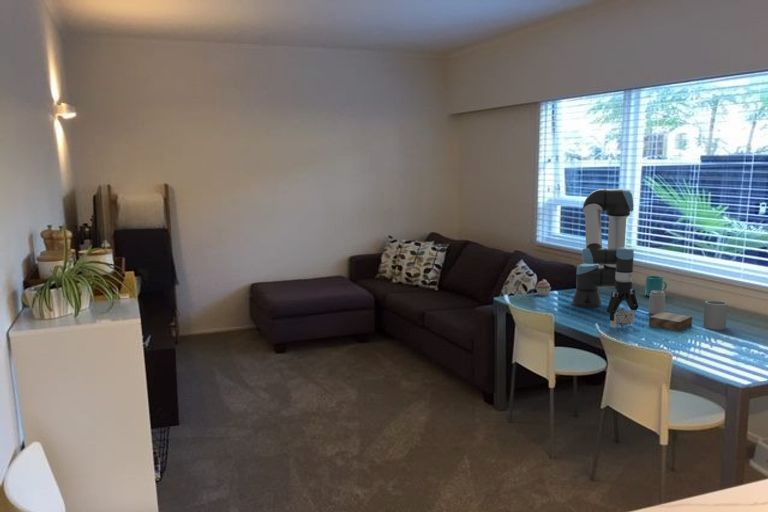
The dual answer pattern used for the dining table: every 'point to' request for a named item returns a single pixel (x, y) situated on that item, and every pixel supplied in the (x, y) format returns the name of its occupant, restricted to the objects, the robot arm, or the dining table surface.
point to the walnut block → (670, 321)
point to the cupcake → (543, 288)
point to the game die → (622, 318)
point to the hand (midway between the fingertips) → (621, 325)
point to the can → (656, 302)
